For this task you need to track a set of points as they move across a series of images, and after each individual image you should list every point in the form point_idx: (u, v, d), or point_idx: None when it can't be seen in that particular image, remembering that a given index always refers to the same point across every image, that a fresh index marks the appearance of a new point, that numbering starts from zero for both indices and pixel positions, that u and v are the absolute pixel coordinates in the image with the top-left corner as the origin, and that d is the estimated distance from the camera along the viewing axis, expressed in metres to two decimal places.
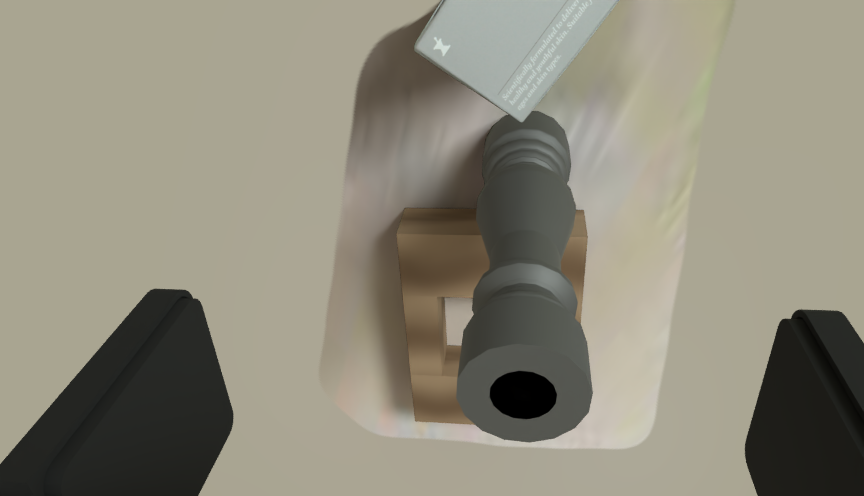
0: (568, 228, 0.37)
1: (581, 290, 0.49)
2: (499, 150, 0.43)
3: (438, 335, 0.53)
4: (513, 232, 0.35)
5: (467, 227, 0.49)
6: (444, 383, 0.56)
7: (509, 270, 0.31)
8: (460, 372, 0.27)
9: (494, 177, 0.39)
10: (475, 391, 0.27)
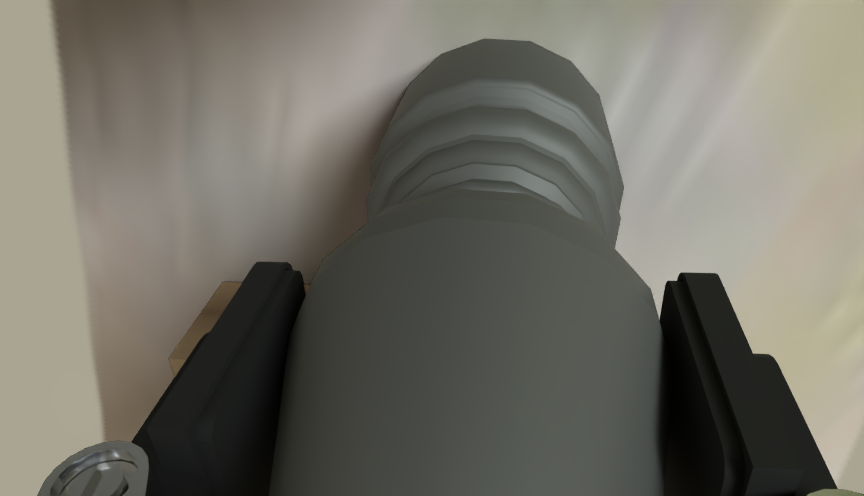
0: None
1: None
2: (404, 143, 0.14)
3: None
4: None
5: None
6: None
7: None
8: None
9: (348, 243, 0.10)
10: None
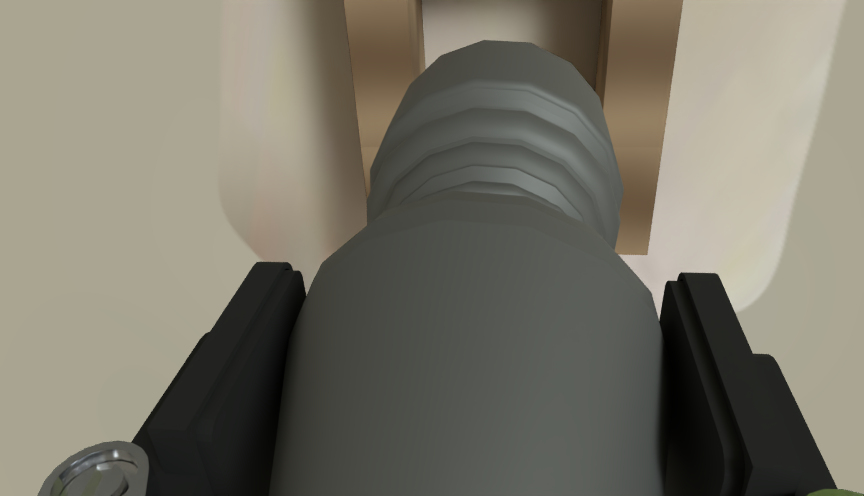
0: None
1: None
2: (404, 145, 0.14)
3: (408, 51, 0.29)
4: None
5: None
6: None
7: None
8: None
9: (348, 246, 0.10)
10: None
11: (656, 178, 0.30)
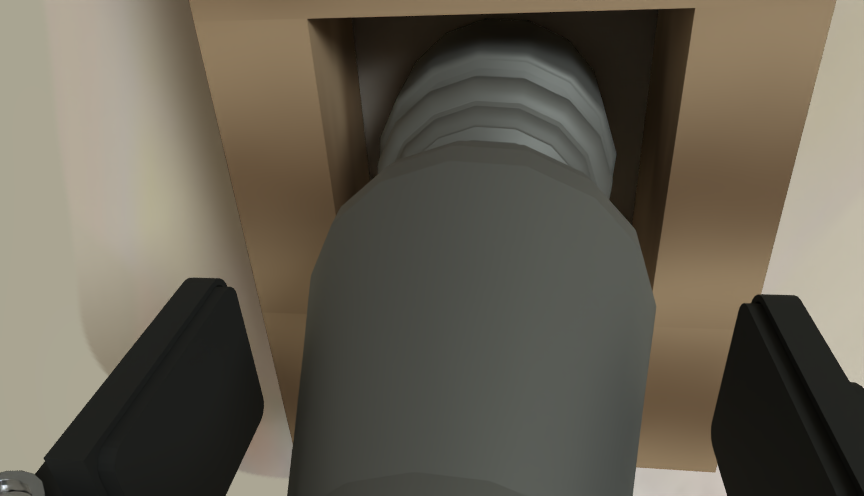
0: (641, 399, 0.09)
1: None
2: (412, 111, 0.15)
3: (327, 177, 0.17)
4: (376, 488, 0.06)
5: None
6: None
7: None
8: None
9: (364, 189, 0.11)
10: None
11: None
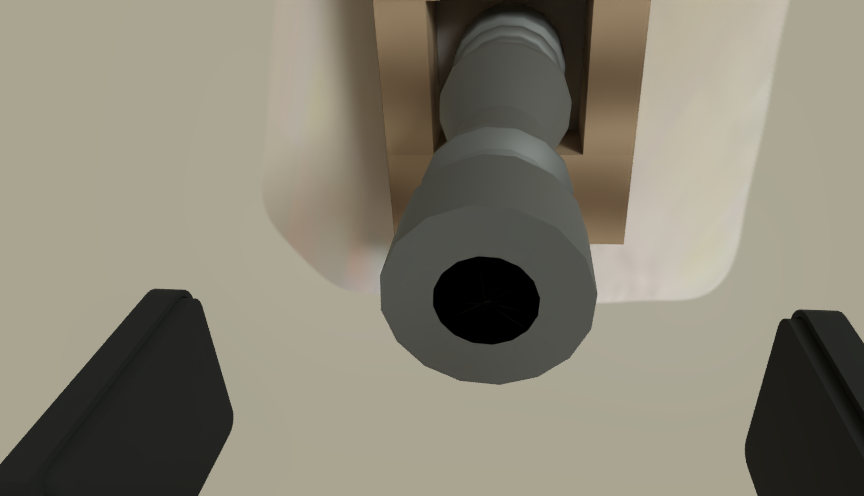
0: (561, 118, 0.28)
1: None
2: (472, 41, 0.33)
3: (428, 77, 0.35)
4: (484, 110, 0.25)
5: None
6: None
7: (472, 138, 0.21)
8: (385, 264, 0.17)
9: (462, 59, 0.29)
10: (411, 297, 0.17)
11: (629, 180, 0.37)
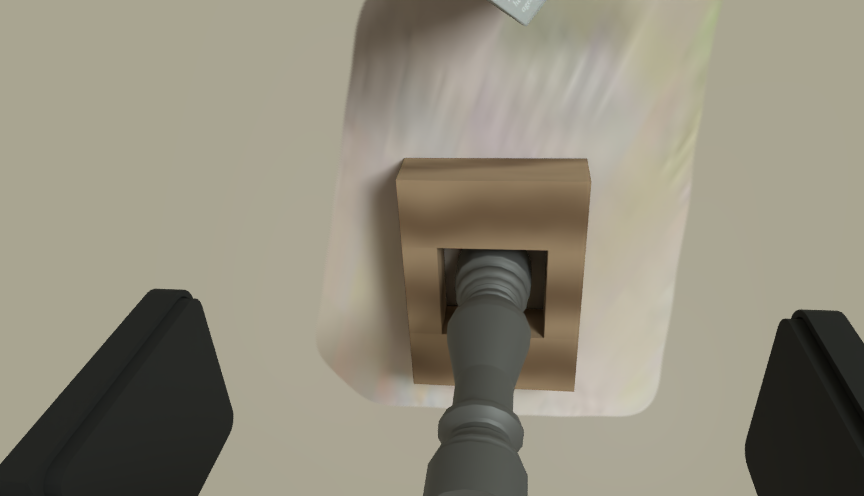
0: (522, 355, 0.44)
1: (584, 239, 0.48)
2: (468, 275, 0.50)
3: (438, 290, 0.52)
4: (474, 366, 0.42)
5: (468, 174, 0.48)
6: (444, 342, 0.55)
7: (467, 410, 0.38)
8: None
9: (461, 307, 0.46)
10: None
11: (576, 354, 0.54)
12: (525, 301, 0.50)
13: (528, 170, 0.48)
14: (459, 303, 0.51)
